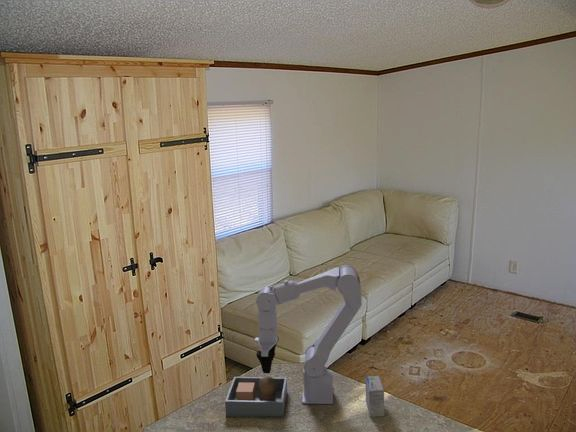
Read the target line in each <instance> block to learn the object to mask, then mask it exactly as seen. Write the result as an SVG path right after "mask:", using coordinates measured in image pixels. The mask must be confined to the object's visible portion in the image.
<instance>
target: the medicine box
mask: <svg viewBox="0 0 576 432" xmlns="http://www.w3.org/2000/svg"><path fill="white" fill-rule="evenodd" d="M365 403H366V407H367V411H368V414H369V417H370V418H373V417H374V418H375V417H377V418H379V417H385V388H384V386H383V382H382V380H381V377H380V376H378V375H375V376H374V375H371V376H370V375H369V376H365Z"/></svg>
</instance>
